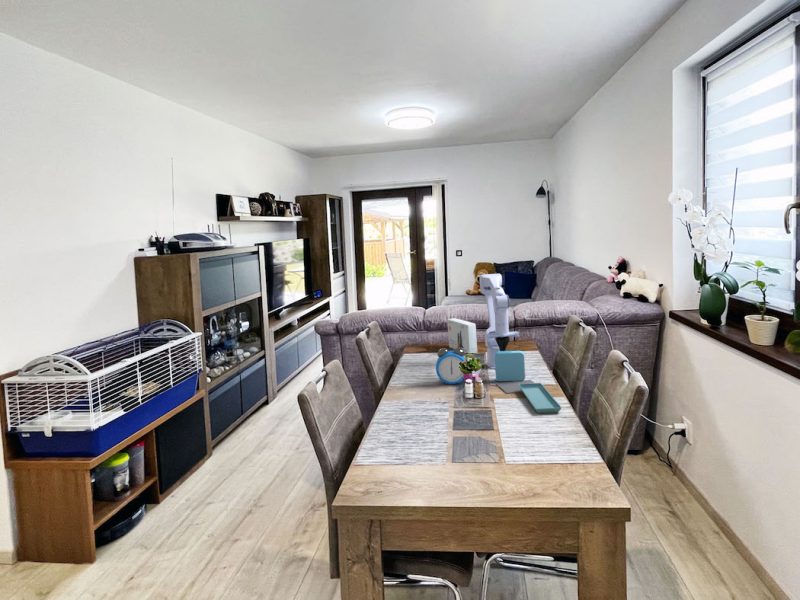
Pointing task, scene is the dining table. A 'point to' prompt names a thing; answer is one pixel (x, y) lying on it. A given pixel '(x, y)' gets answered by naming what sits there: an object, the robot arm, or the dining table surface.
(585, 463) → the dining table surface
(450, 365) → the alarm clock
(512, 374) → the data package
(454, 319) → the skincare box
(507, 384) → the mat
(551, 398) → the teal serving tray
